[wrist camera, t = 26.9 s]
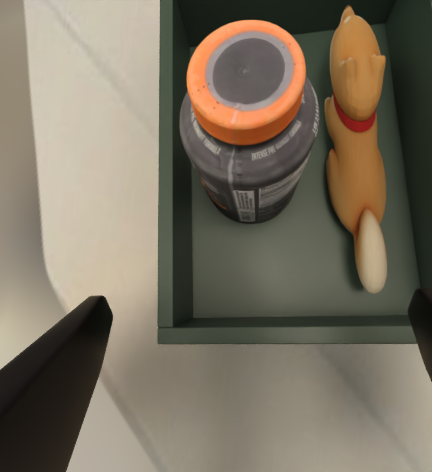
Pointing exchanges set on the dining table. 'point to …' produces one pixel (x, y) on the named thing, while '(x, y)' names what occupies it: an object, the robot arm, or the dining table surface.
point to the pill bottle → (249, 118)
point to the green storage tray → (296, 194)
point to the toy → (357, 144)
